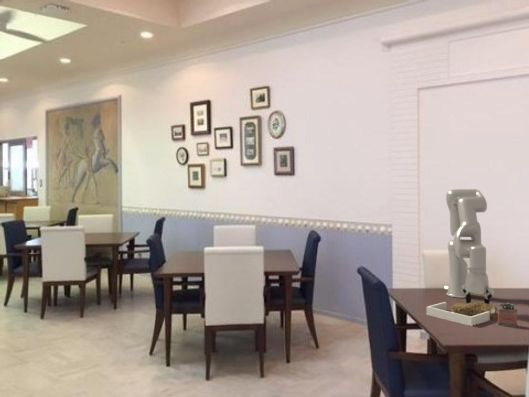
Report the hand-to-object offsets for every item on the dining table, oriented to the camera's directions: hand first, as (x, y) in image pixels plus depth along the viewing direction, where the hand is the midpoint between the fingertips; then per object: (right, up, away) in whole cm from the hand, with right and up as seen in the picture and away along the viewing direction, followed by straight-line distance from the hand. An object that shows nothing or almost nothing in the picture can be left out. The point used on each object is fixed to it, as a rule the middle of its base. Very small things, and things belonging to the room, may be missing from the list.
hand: (477, 304), depth 254 cm
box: (-14, -4, -10) cm, 18 cm away
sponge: (-6, -4, -8) cm, 11 cm away
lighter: (+4, -5, -23) cm, 24 cm away
